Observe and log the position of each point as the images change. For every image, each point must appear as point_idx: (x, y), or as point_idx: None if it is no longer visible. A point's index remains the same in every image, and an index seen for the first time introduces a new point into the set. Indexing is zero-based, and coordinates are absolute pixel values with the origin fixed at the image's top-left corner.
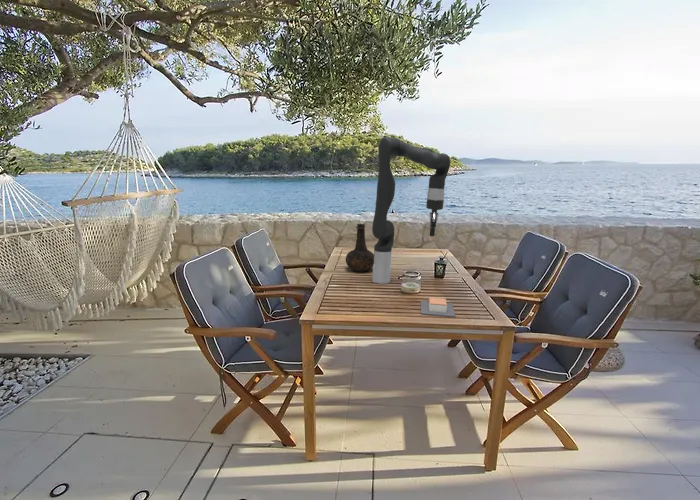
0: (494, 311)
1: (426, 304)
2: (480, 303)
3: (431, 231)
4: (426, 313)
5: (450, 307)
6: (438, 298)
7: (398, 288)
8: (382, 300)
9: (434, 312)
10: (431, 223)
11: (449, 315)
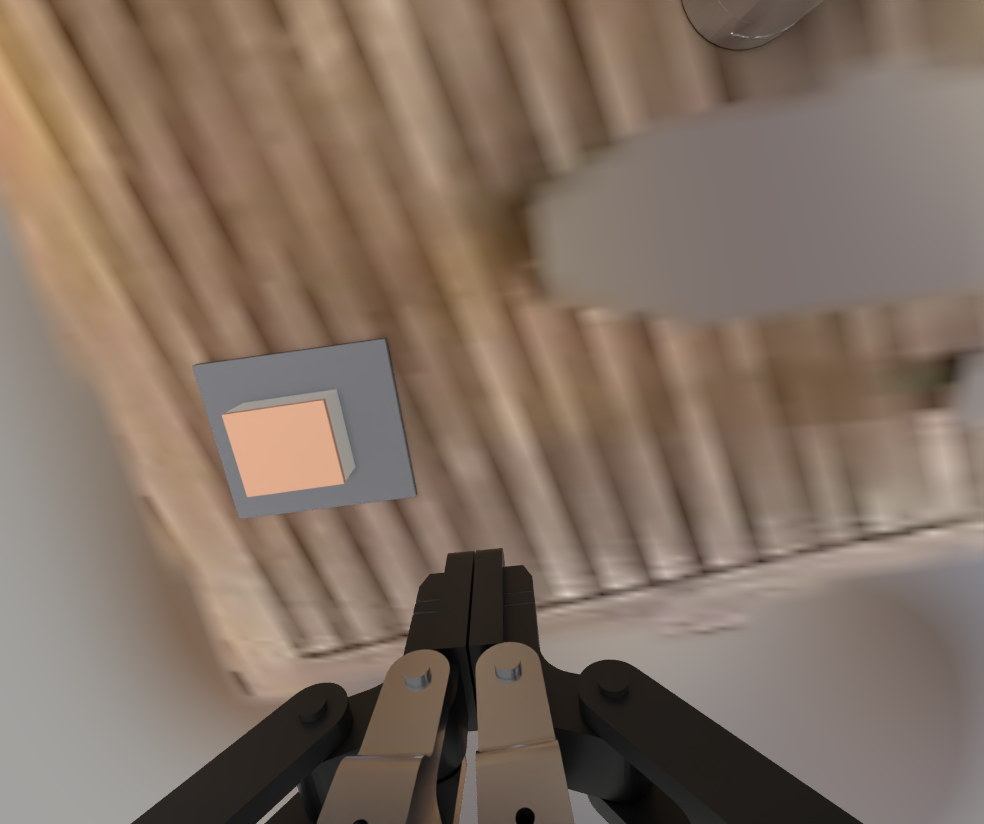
0: None
1: (338, 376)
2: None
3: (412, 630)
4: (201, 392)
5: (348, 492)
6: (329, 449)
7: (609, 151)
8: (314, 100)
9: None
10: (166, 819)
11: (232, 495)
